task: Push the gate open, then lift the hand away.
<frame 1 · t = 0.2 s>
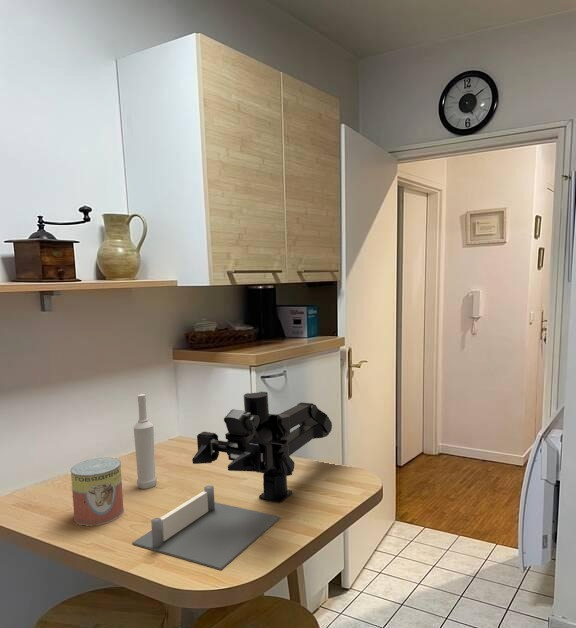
hand: (210, 464, 106), 17 cm above the table, tool horizontal, fingers open, 9 cm apart
gate: (188, 511, 114), point 3 cm above the table, hinge at 0.0°
canned food: (99, 515, 122), on the table
grey piece: (209, 530, 112), on the table
bottle: (147, 486, 139), on the table
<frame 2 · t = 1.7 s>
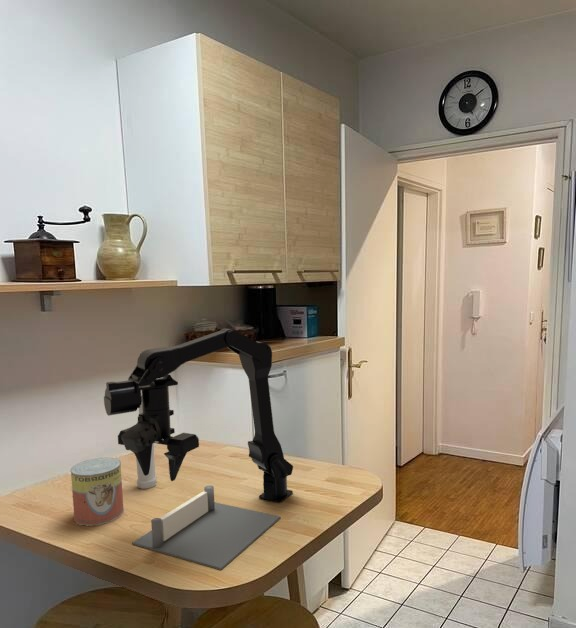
hand: (159, 477, 112), 12 cm above the table, tool pointing down, fingers open, 7 cm apart
nothing on the table moved.
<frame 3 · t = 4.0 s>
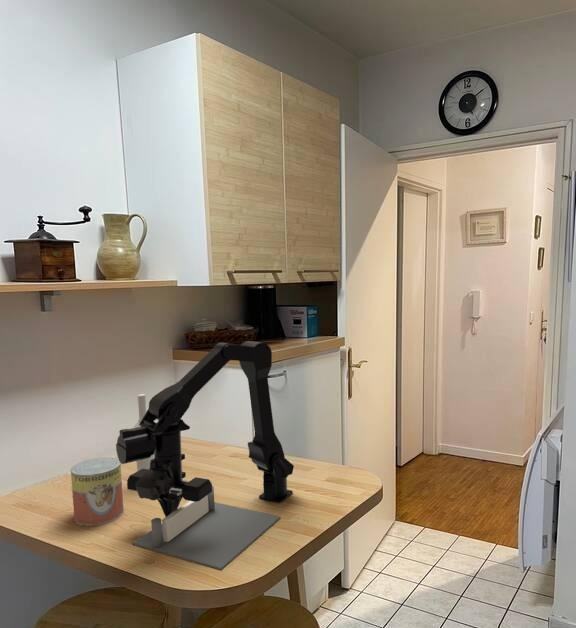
hand: (170, 522, 112), 2 cm above the table, tool pointing down, fingers closed
gate: (190, 511, 114), point 3 cm above the table, hinge at 3.5°, touching gripper
everything else where it was.
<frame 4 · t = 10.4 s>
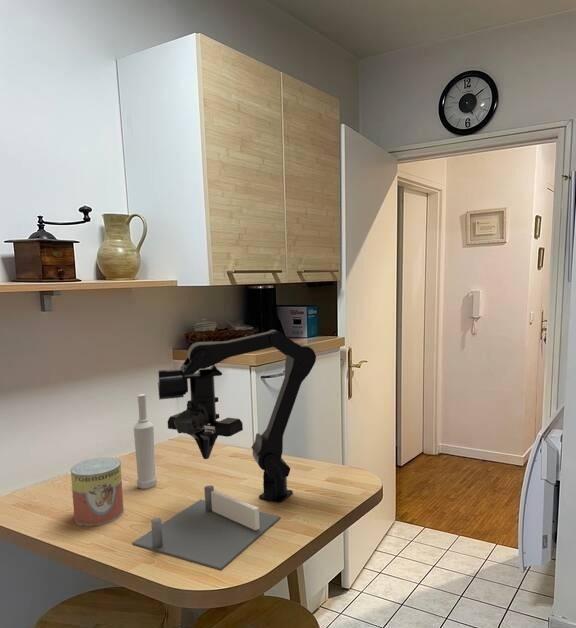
hand: (206, 458, 123), 12 cm above the table, tool pointing down, fingers closed
gate: (230, 506, 116), point 3 cm above the table, hinge at 75.3°
everything else where it was.
at the end: gate at +75° (first picture: +0°); bottle moved 0.2 cm from its start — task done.
